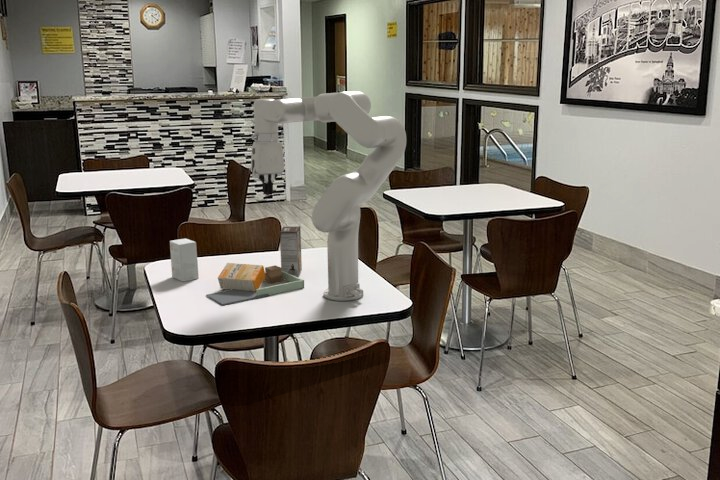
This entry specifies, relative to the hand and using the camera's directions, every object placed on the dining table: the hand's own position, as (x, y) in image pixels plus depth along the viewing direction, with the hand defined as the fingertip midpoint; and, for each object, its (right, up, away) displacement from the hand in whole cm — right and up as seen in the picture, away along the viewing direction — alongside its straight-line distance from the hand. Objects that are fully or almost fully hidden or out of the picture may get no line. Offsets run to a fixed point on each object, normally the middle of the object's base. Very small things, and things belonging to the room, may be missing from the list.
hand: (267, 194), depth 233 cm
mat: (-9, -33, -7) cm, 35 cm away
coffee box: (+6, -27, +18) cm, 33 cm away
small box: (-30, -28, +14) cm, 44 cm away
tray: (0, -30, +3) cm, 30 cm away
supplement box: (-2, -27, -2) cm, 27 cm away
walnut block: (+1, -29, +8) cm, 30 cm away
